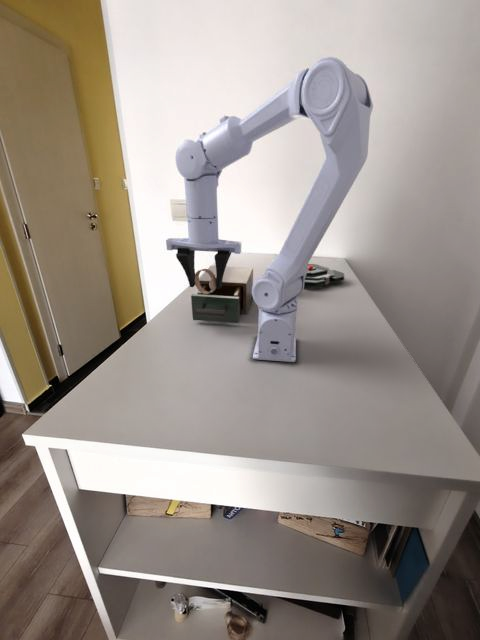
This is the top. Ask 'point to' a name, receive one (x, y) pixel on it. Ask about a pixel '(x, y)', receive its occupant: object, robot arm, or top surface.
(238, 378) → the top surface
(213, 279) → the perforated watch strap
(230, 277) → the cabinet
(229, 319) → the drawer
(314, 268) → the four-lobed dark green device
